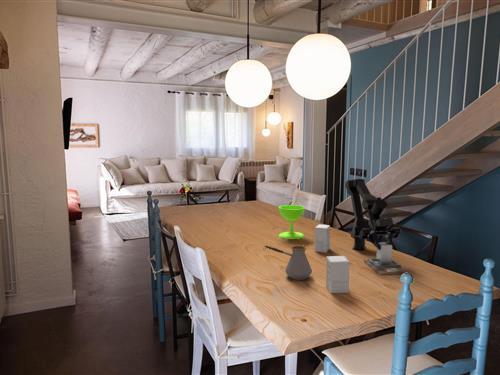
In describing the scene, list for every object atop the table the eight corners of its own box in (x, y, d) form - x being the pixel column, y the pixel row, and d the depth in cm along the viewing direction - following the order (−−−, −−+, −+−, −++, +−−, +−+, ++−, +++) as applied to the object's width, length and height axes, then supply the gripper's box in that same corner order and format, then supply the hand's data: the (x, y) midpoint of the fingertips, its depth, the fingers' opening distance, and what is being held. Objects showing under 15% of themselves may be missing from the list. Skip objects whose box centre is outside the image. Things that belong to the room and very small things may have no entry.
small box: (318, 247, 211) (318, 224, 210) (329, 248, 209) (330, 225, 207) (314, 251, 204) (314, 227, 202) (326, 252, 201) (326, 228, 200)
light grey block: (376, 261, 181) (377, 242, 180) (386, 260, 182) (387, 242, 180) (380, 264, 176) (381, 245, 175) (391, 264, 177) (392, 245, 175)
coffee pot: (305, 271, 173) (306, 238, 172) (316, 280, 162) (316, 245, 161) (260, 275, 168) (259, 242, 166) (267, 285, 157) (267, 249, 155)
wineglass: (304, 233, 243) (304, 205, 241) (305, 239, 227) (305, 209, 225) (278, 232, 245) (278, 204, 243) (278, 239, 229) (278, 209, 227)
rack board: (363, 261, 186) (364, 257, 186) (389, 260, 187) (390, 256, 187) (379, 274, 168) (380, 270, 168) (408, 273, 169) (408, 268, 169)
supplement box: (343, 285, 156) (344, 255, 154) (349, 293, 148) (349, 261, 147) (325, 286, 156) (326, 255, 154) (330, 293, 148) (330, 261, 147)
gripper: (362, 211, 179) (371, 241, 170) (400, 210, 181) (411, 239, 172) (355, 224, 188) (363, 253, 179) (392, 223, 190) (402, 251, 180)
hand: (385, 249), depth 177 cm, fingers closed on light grey block, 5 cm apart
